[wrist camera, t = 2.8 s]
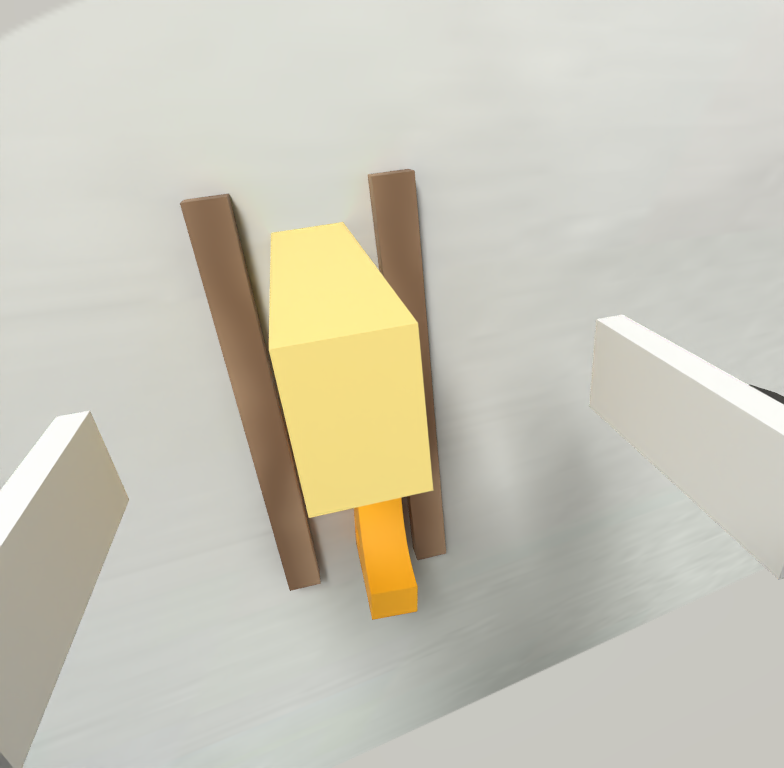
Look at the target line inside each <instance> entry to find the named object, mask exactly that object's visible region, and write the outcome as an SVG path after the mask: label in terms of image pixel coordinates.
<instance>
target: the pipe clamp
mask: <svg viewBox="0 0 784 768" xmlns="http://www.w3.org/2000/svg"><path fill="white" fill-rule="evenodd" d="M354 516H355V533H356V544H357V548H358V553H359V558H360V563H361V568H362V573H363V577H364V582H365V587H366V592H367V597H368V602H369V606H370V611H371V616H372V620H374V619H379V618H384V617H390V616H395V615H400V614H406V613H411V612H416V611H417V593H418V586H417V583H416V580H415V576H414V572H413V568H412V564H411V560H410V555H409V550H408V545H407V540H406V534H405V527H404V519H403V511H402V499H401V498H397V499H392V500H388V501H383V502H379V503H374V504H370V505H365V506H361V507H356V508H354Z"/></svg>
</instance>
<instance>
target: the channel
mask: <svg viewBox="0 0 784 768" xmlns="http://www.w3.org/2000/svg"><path fill="white" fill-rule="evenodd" d="M368 181H369V190H370V198H371V206H372V214H373V222H374V231H375V239H376V247H377V255H378V263H379V271H380V273H381V274H382V275H383V277H384V278H385V279H386V281H387V282H388V283H389V285H390V286H391V287H392V289H393V290H394V291H395V293H396V294H397V296H398V297H399V298H400V300H401V301H402V302H403V304H404V305H405V306H406V308H407V309H408V310H409V312H410V313H411V314H412V316H413V317H414V318H415V320H416V321H417V322H418V328H419V339H420V350H421V361H422V372H423V383H424V394H425V405H426V416H427V427H428V438H429V449H430V460H431V471H432V482H433V491H428V492H424V493H419V494H415V495H410V496H407V502H408V510H409V518H410V526H411V535H412V543H413V549H414V552H415V555H416V558H417V560H420V559H425V558H429V557H433V556H437V555H441V554H445V553H446V546H445V533H444V521H443V509H442V497H441V485H440V473H439V461H438V449H437V437H436V425H435V413H434V401H433V389H432V376H431V364H430V352H429V340H428V328H427V316H426V304H425V292H424V280H423V268H422V256H421V244H420V232H419V220H418V207H417V195H416V183H415V171H414V170H410V169H405V170H397V171H390V172H383V173H376V174H368ZM180 205H181V208H182V212H183V216H184V219H185V223H186V226H187V230H188V233H189V237H190V240H191V244H192V247H193V251H194V254H195V258H196V261H197V265H198V268H199V272H200V276H201V279H202V283H203V286H204V290H205V293H206V297H207V300H208V304H209V307H210V311H211V314H212V318H213V321H214V325H215V328H216V332H217V335H218V339H219V343H220V346H221V350H222V353H223V357H224V360H225V364H226V367H227V371H228V374H229V378H230V381H231V385H232V388H233V392H234V395H235V399H236V403H237V406H238V410H239V413H240V417H241V420H242V424H243V427H244V431H245V434H246V438H247V441H248V445H249V448H250V452H251V455H252V459H253V462H254V466H255V470H256V473H257V477H258V480H259V484H260V487H261V491H262V494H263V498H264V501H265V505H266V508H267V512H268V515H269V519H270V522H271V526H272V530H273V533H274V537H275V540H276V544H277V547H278V551H279V554H280V558H281V561H282V565H283V568H284V572H285V575H286V579H287V582H288V586H289V589H290V591H291V590H295V589H299V588H304V587H308V586H312V585H316V584H320V583H321V582H320V573H319V567H318V563H317V559H316V554H315V550H314V546H313V542H312V538H311V534H310V529H309V525H308V521H307V517H306V513H305V509H304V504H303V500H302V496H301V492H300V488H299V484H298V479H297V475H296V471H295V467H294V463H293V459H292V454H291V450H290V446H289V442H288V438H287V434H286V429H285V425H284V421H283V417H282V413H281V409H280V404H279V400H278V396H277V392H276V388H275V384H274V379H273V375H272V371H271V367H270V363H269V359H268V354H267V350H266V346H265V342H264V338H263V334H262V330H261V325H260V321H259V317H258V313H257V309H256V305H255V300H254V296H253V292H252V288H251V284H250V280H249V275H248V271H247V267H246V263H245V259H244V255H243V250H242V246H241V242H240V238H239V234H238V230H237V225H236V221H235V217H234V213H233V209H232V205H231V200H230V196H229V194H223V195H216V196H208V197H201V198H194V199H187V200H183V201H182V202H181V203H180Z"/></svg>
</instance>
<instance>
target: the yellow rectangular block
mask: <svg viewBox="0 0 784 768" xmlns="http://www.w3.org/2000/svg"><path fill="white" fill-rule="evenodd" d="M269 353H270V357H271V361H272V365H273V369H274V374H275V378H276V382H277V386H278V390H279V395H280V399H281V403H282V407H283V411H284V416H285V420H286V424H287V428H288V432H289V437H290V441H291V445H292V449H293V453H294V458H295V462H296V466H297V470H298V475H299V479H300V483H301V487H302V491H303V496H304V500H305V504H306V508H307V512H308V517H309V518H311V517H316V516H320V515H325V514H329V513H334V512H338V511H343V510H347V509H352V508H356V507H361V506H365V505H370V504H374V503H379V502H383V501H388V500H392V499H397V498H401V497H406V496H410V495H415V494H419V493H424V492H428V491H433V482H432V471H431V460H430V449H429V438H428V427H427V416H426V405H425V394H424V383H423V372H422V361H421V350H420V339H419V328H418V322H417V321H416V320H415V318H414V317H413V316H412V314H411V313H410V312H409V310H408V309H407V308H406V306H405V305H404V304H403V302H402V301H401V300H400V298H399V297H398V296H397V294H396V293H395V291H394V290H393V289H392V287H391V286H390V285H389V283H388V282H387V281H386V279H385V278H384V277H383V275H382V274H381V273H380V271H379V270H378V269H377V267H376V266H375V265H374V263H373V262H372V261H371V259H370V258H369V257H368V255H367V254H366V253H365V251H364V250H363V249H362V247H361V246H360V245H359V243H358V242H357V241H356V239H355V238H354V237H353V235H352V234H351V232H350V231H349V230H348V228H347V227H346V226H345V224H344V223H343V222H341V223H335V224H328V225H321V226H315V227H308V228H301V229H294V230H288V231H281V232H274V233H271V262H270V313H269Z"/></svg>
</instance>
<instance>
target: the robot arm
mask: <svg viewBox="0 0 784 768" xmlns="http://www.w3.org/2000/svg"><path fill="white" fill-rule="evenodd" d="M589 407H590V408H591V409H592V410H593V411H595V412H596V413H597V414H598V415H599V416H600V417H601V418H602V419H603V420H604V421H606V422H607V423H608V424H609V425H610V426H611V427H612V428H613V429H614V430H615V431H616V432H618V433H619V434H620V435H621V436H622V437H623V438H624V439H625V440H626V441H627V442H628V443H630V444H631V445H632V446H633V447H634V448H635V449H636V450H637V451H638V452H639V453H641V454H642V455H643V456H644V457H645V458H646V459H647V460H648V461H649V462H650V463H651V464H653V465H654V466H655V467H656V468H657V469H658V470H659V471H660V472H661V473H662V474H663V475H665V476H666V477H667V478H668V479H669V480H670V481H671V482H672V483H673V484H674V485H676V486H677V487H678V488H679V489H680V490H681V491H682V492H683V493H684V494H685V495H686V496H688V497H689V498H690V499H691V500H692V501H693V502H694V503H695V504H696V505H697V506H698V507H700V508H701V509H702V510H703V511H704V512H705V513H706V514H707V515H708V516H709V517H711V518H712V519H713V520H714V521H715V522H716V523H717V524H718V525H719V526H720V527H721V528H723V529H724V530H725V531H726V532H727V533H728V534H729V535H730V536H731V537H732V538H733V539H735V540H736V541H737V542H738V543H739V544H740V545H741V546H742V547H743V548H744V549H746V550H747V551H748V552H749V553H750V554H751V555H752V556H753V557H754V558H755V559H756V560H758V561H759V562H760V563H761V564H762V565H763V566H764V567H765V568H766V569H767V570H768V571H770V572H771V573H772V574H773V575H774V576H775V577H776V578H777V579H778V580H779V579H783V578H784V397H783V396H781V395H779V394H777V393H775V392H771V391H768V390H765V389H762V388H759V387H756V386H753V385H748V384H746V383H744V382H742V381H741V380H739V379H737V378H735V377H733V376H732V375H730V374H728V373H726V372H724V371H723V370H721V369H719V368H717V367H715V366H714V365H712V364H710V363H708V362H706V361H705V360H703V359H701V358H699V357H697V356H696V355H694V354H692V353H690V352H689V351H687V350H685V349H683V348H681V347H680V346H678V345H676V344H674V343H672V342H671V341H669V340H667V339H665V338H663V337H662V336H660V335H658V334H656V333H654V332H653V331H651V330H649V329H647V328H646V327H644V326H642V325H640V324H638V323H637V322H635V321H633V320H631V319H629V318H628V317H626V316H624V315H618V316H612V317H607V318H601V319H596V330H595V343H594V355H593V367H592V380H591V392H590V404H589ZM128 501H129V498H128V496H127V494H126V491H125V489H124V487H123V485H122V482H121V480H120V478H119V476H118V473H117V471H116V469H115V466H114V464H113V462H112V460H111V457H110V455H109V453H108V451H107V448H106V446H105V444H104V442H103V439H102V437H101V435H100V432H99V430H98V428H97V426H96V423H95V421H94V419H93V417H92V414H91V412H90V411H85V412H80V413H74V414H69V415H63V416H57V417H56V418H55V419H54V420H53V422H52V423H51V424H50V426H49V427H48V428H47V430H46V431H45V432H44V434H43V435H42V436H41V438H40V439H39V440H38V442H37V443H36V444H35V446H34V447H33V448H32V449H31V451H30V452H29V453H28V455H27V456H26V457H25V459H24V460H23V461H22V463H21V464H20V465H19V467H18V468H17V469H16V471H15V472H14V473H13V475H12V476H11V477H10V478H9V480H8V481H7V482H6V484H5V485H4V486H3V488H2V489H1V490H0V768H22V767H23V764H24V762H25V759H26V757H27V754H28V752H29V749H30V747H31V744H32V742H33V739H34V737H35V734H36V732H37V729H38V727H39V724H40V722H41V719H42V717H43V714H44V712H45V709H46V707H47V704H48V702H49V699H50V697H51V694H52V692H53V689H54V687H55V684H56V682H57V679H58V677H59V674H60V672H61V669H62V667H63V664H64V662H65V659H66V657H67V654H68V652H69V649H70V647H71V644H72V642H73V639H74V636H75V634H76V631H77V629H78V626H79V624H80V621H81V619H82V616H83V614H84V611H85V609H86V606H87V604H88V601H89V599H90V596H91V594H92V591H93V589H94V586H95V584H96V581H97V579H98V576H99V574H100V571H101V569H102V566H103V564H104V561H105V559H106V556H107V554H108V551H109V549H110V546H111V544H112V541H113V539H114V536H115V534H116V531H117V529H118V526H119V524H120V521H121V519H122V516H123V514H124V511H125V509H126V506H127V503H128Z"/></svg>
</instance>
